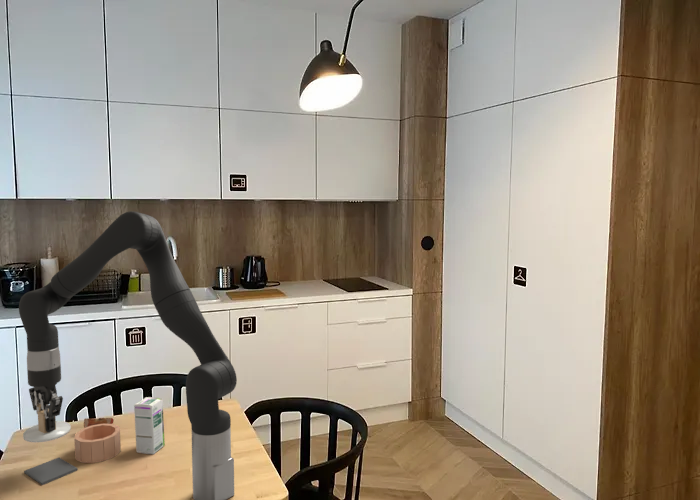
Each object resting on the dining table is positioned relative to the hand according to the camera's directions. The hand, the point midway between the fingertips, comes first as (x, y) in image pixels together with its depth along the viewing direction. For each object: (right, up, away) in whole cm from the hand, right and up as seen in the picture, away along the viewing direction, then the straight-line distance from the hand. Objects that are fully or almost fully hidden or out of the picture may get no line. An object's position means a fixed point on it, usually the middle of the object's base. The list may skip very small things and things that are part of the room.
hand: (47, 428), depth 139 cm
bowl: (+8, -11, +12) cm, 18 cm away
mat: (0, -12, +2) cm, 12 cm away
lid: (0, -1, 0) cm, 1 cm away
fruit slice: (+2, -10, +25) cm, 27 cm away
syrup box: (+22, -11, +14) cm, 28 cm away
